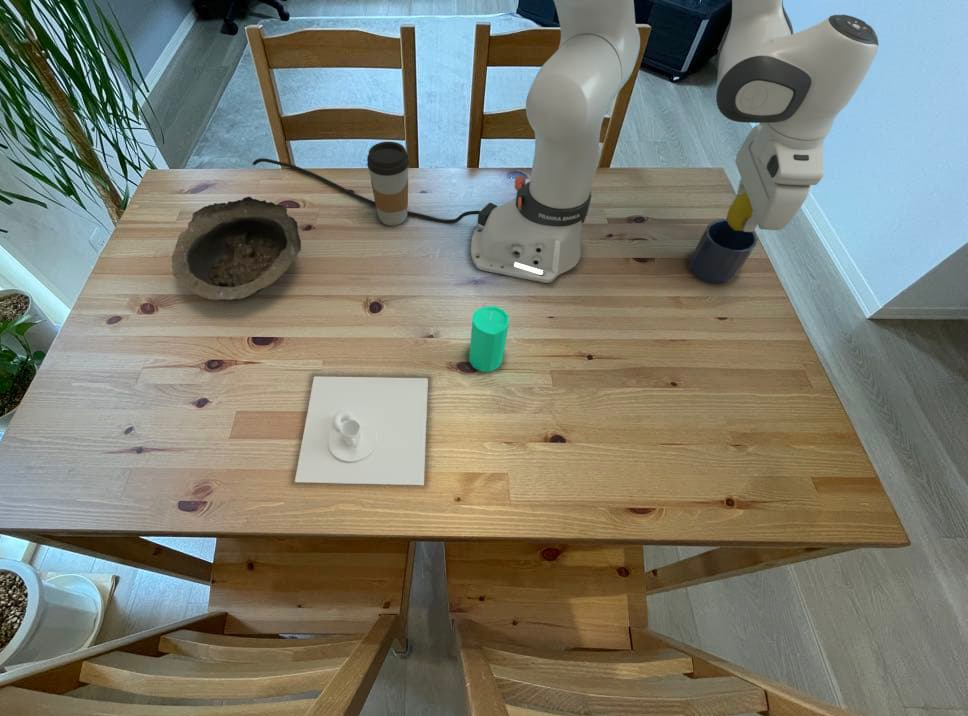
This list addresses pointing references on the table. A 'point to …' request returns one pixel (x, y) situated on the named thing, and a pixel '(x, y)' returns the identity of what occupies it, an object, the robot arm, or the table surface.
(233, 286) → the stone bowl
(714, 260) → the glazed cup
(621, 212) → the table surface
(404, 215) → the coffee cup
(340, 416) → the teacup and saucer
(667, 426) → the table surface
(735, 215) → the lemon
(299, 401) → the table surface
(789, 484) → the table surface
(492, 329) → the candle
